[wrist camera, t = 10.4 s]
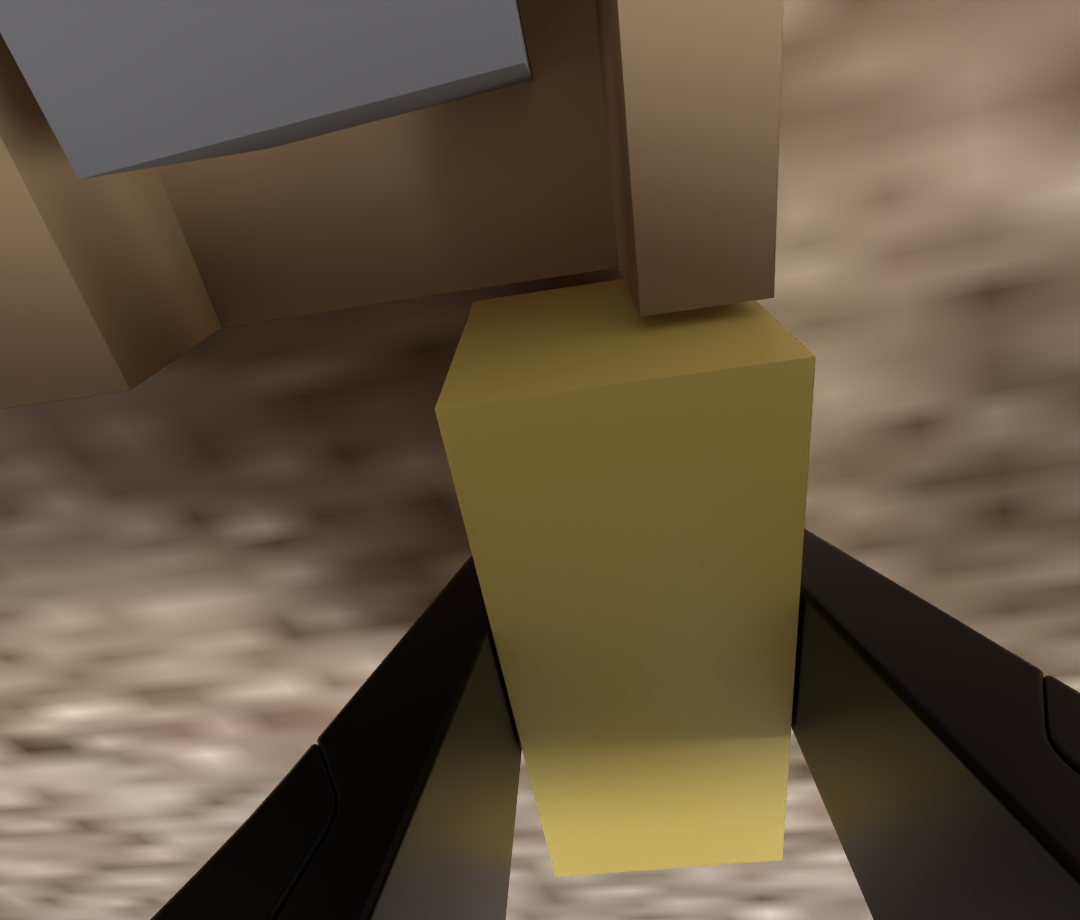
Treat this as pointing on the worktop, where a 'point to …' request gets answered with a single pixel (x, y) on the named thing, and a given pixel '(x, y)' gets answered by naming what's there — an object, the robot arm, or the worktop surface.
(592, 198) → the slot board
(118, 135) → the tall grey block
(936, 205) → the worktop surface
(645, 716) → the yellow rectangular block
